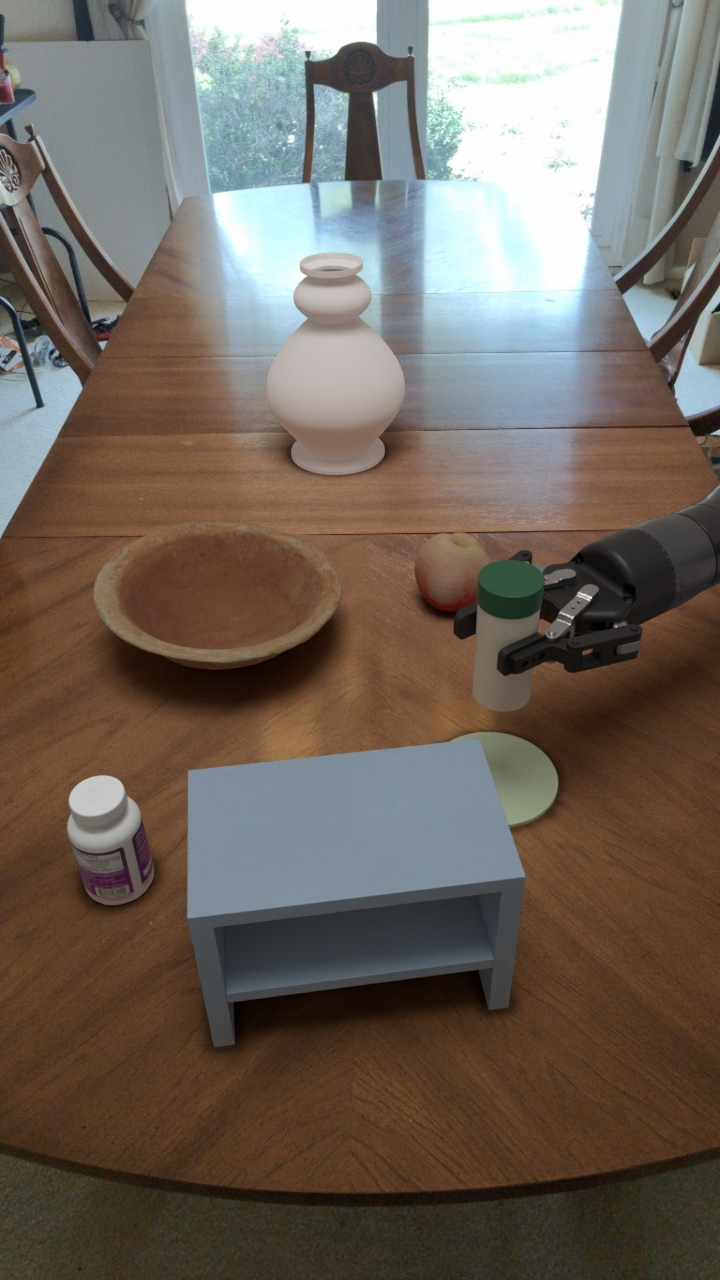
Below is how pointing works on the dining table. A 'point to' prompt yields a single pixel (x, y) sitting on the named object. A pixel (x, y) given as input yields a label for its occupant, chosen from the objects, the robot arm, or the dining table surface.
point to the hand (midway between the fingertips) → (478, 644)
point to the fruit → (450, 570)
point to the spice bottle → (504, 630)
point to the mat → (518, 775)
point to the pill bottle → (109, 841)
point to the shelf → (349, 875)
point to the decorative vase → (335, 372)
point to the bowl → (217, 593)
